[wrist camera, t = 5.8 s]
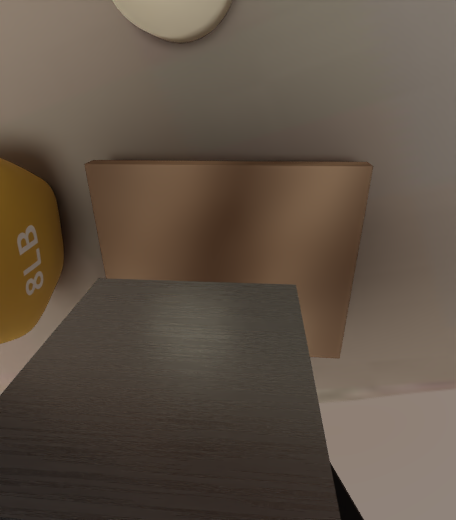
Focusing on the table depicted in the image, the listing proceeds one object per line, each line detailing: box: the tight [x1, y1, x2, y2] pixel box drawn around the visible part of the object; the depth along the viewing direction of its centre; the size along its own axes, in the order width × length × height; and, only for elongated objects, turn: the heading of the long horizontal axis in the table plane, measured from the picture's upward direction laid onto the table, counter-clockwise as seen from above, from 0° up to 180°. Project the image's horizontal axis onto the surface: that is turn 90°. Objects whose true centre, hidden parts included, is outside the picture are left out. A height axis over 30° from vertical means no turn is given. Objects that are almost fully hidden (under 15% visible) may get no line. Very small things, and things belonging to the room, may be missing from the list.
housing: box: [0, 278, 341, 520], centre depth 7 cm, size 7×5×5 cm, turn 1°
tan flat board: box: [84, 160, 373, 358], centre depth 18 cm, size 12×10×2 cm
